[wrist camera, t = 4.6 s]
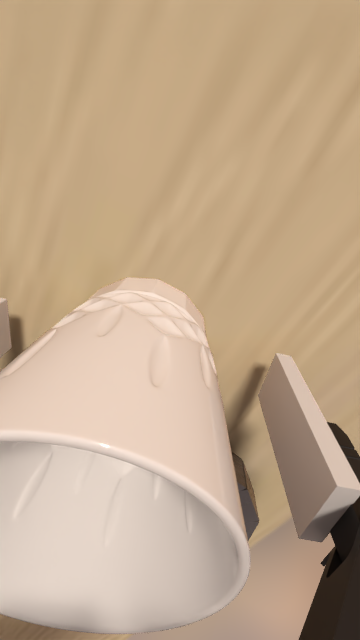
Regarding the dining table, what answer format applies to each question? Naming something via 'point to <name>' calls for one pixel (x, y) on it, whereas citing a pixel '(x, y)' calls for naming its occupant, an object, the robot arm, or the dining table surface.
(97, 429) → the white cup
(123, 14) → the dining table surface
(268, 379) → the robot arm
